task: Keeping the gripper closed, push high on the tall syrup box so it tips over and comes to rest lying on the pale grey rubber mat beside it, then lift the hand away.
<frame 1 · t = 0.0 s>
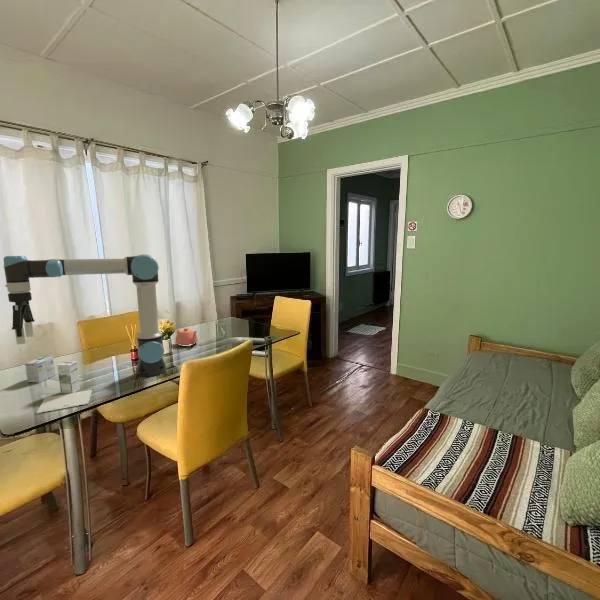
hand: (26, 340, 141), 28 cm above the table, tool pointing down, fingers open, 13 cm apart
syrup box: (70, 392, 154), on the table
teapot: (187, 345, 231), on the table
light bulb box: (42, 379, 170), on the table
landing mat: (66, 401, 144), on the table
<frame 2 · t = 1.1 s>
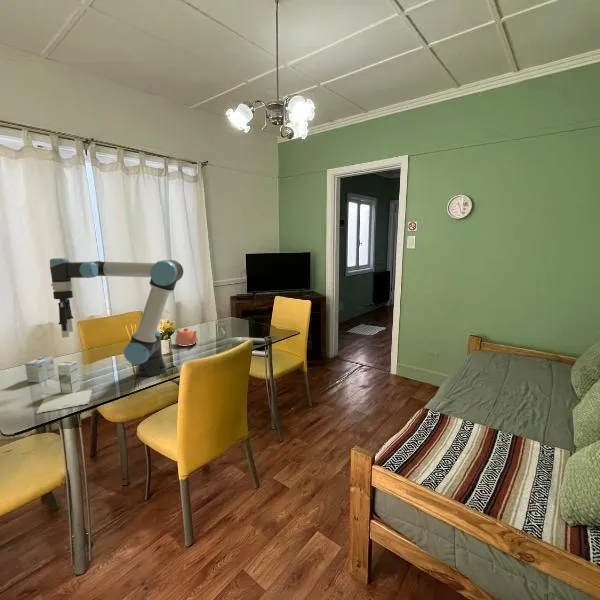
hand: (67, 334, 159), 26 cm above the table, tool pointing down, fingers open, 11 cm apart
nothing on the table moved.
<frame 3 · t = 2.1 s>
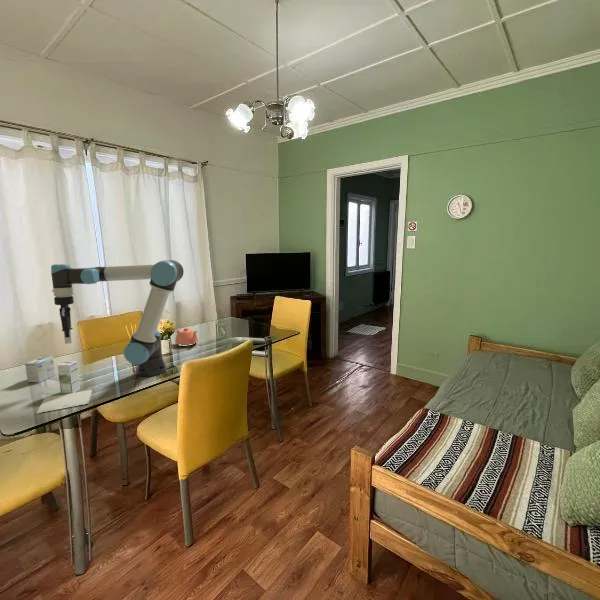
hand: (68, 343, 160), 21 cm above the table, tool pointing down, fingers closed
nothing on the table moved.
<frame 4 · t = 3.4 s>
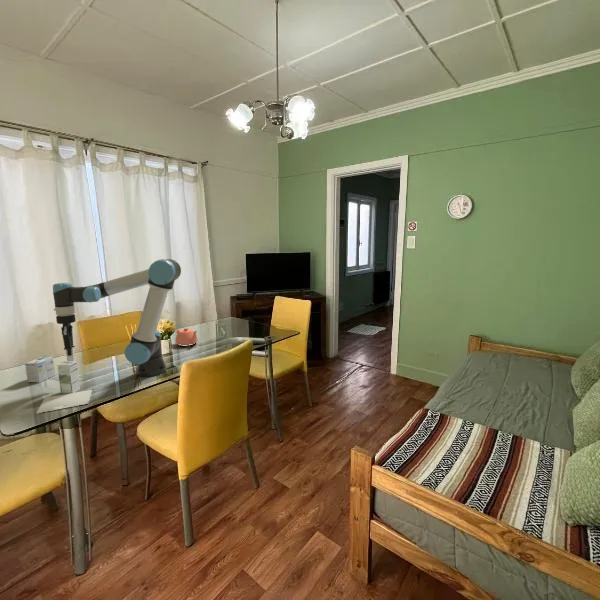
hand: (70, 361, 160), 12 cm above the table, tool pointing down, fingers closed
nothing on the table moved.
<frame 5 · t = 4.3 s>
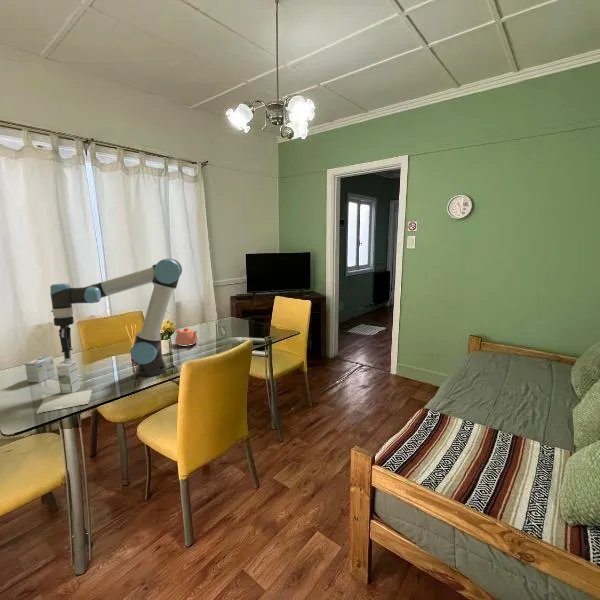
hand: (68, 364, 155), 13 cm above the table, tool pointing down, fingers closed
syrup box: (70, 391, 154), on the table, touching gripper
everything else where it was.
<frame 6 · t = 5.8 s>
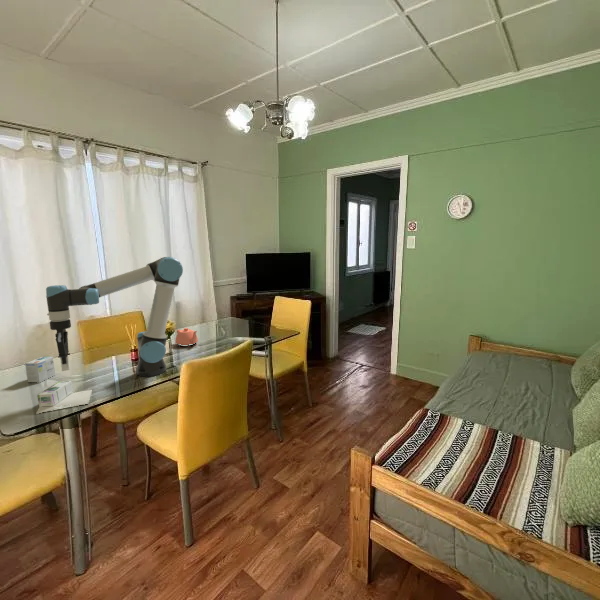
hand: (65, 370, 148), 12 cm above the table, tool pointing down, fingers closed
syrup box: (66, 386, 152), point 3 cm above the table, touching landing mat
everything else where it was.
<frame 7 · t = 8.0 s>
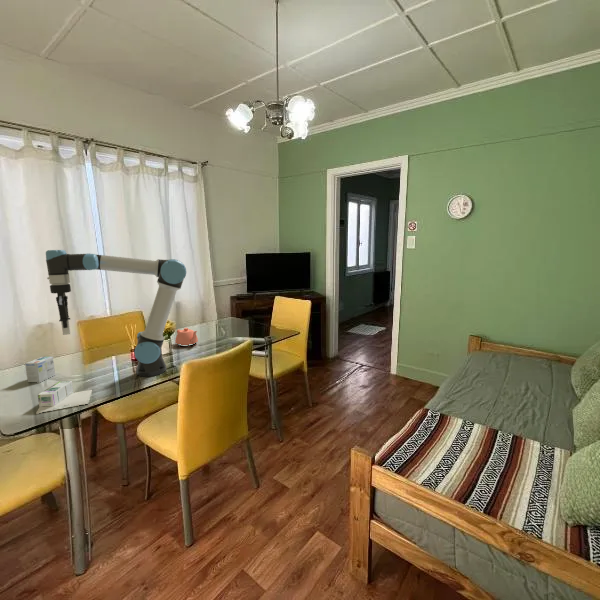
hand: (66, 334, 151), 28 cm above the table, tool pointing down, fingers closed
nothing on the table moved.
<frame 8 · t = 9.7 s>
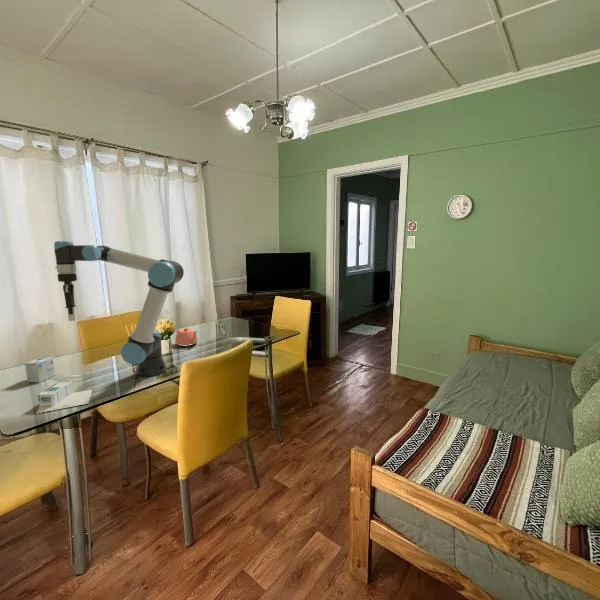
hand: (72, 320, 161), 32 cm above the table, tool pointing down, fingers closed
nothing on the table moved.
at the end: syrup box tilted 89°; syrup box touching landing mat; syrup box inside the target area (4.2 cm from its centre), point 3.3 cm above the table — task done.
